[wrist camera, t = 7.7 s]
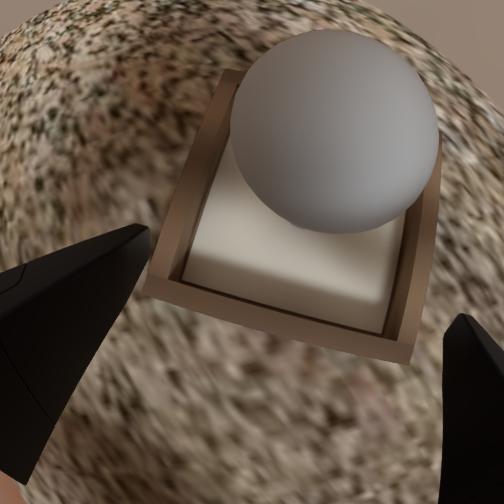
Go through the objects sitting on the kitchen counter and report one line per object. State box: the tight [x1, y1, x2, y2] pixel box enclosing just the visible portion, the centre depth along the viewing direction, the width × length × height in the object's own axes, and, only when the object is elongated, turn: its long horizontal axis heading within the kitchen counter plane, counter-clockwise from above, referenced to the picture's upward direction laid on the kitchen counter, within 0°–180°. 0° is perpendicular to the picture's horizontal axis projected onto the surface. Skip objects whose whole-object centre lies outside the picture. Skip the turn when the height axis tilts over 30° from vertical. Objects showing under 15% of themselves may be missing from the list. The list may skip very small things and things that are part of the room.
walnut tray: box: [142, 69, 442, 365], centre depth 16 cm, size 13×13×3 cm
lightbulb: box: [230, 29, 439, 234], centre depth 11 cm, size 6×6×11 cm
